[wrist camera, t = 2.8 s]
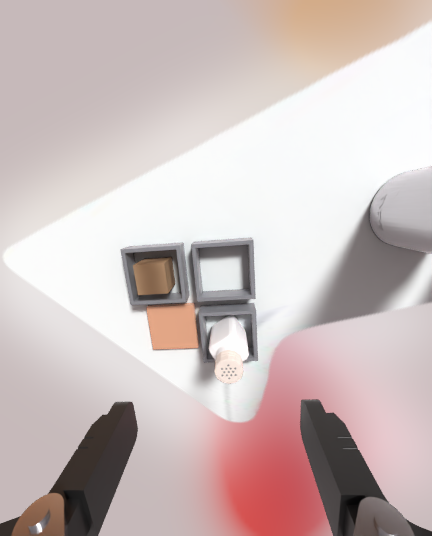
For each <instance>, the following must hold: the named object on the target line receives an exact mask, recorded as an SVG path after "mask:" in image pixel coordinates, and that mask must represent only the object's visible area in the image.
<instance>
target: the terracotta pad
mask: <svg viewBox="0 0 432 536" xmlns="http://www.w3.org/2000/svg"><path fill="white" fill-rule="evenodd" d="M146 309H147V315H148V321H149V327H150V333H151V339H152V345H153V350H155V349H182V348H198V347H199V341H198V331H197V322H196V313H195V304H194V303H183V304H164V305H148V306H147V307H146Z"/></svg>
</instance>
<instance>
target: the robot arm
mask: <svg viewBox="0 0 432 536" xmlns="http://www.w3.org/2000/svg"><path fill="white" fill-rule="evenodd" d="M370 223H371V227H372V229H373V231H374V233H375V234H376V235H377V236H378V238H379V239H381V240H382V241H384V242H385V243H387V244H390V245H393V246H398V247H403V248H407V249H412V250H416V251H420V252H425V253H429V254H432V166H431V167H426V168H421V169H417V170H412V171H408V172H404V173H401V174H399V175H397V176H395V177H393V178H391V179H390V180H389V181H387V182H386V183H385V184H384V185H383V186H382V187H381V188H380V189H379V191H378V192H377V194H376V195H375V197H374V199H373V202H372V204H371V209H370ZM300 428H301V435H302V440H303V443H304V446H305V450H306V453H307V456H308V459H309V462H310V465H311V468H312V471H313V474H314V477H315V481H316V483H317V487H318V490H319V493H320V496H321V499H322V502H323V505H324V508H325V512H326V515H327V518H328V520H329V524H330V527H331V530H332V533H333V536H432V531H429V530H426V529H424V528H421V527H419V526H417V525H415V524H413V523H411V522H409V521H408V520H407V519H405V518H404V517H403V515H402V514H401V513H400V512H399V511H398V510H397V509H396V508H395V507H393V506H392V505H391V504H389V502H388V501H387V500H386V498H385V497H384V495H383V494H382V492H381V490H380V488H379V486H378V484H377V482H376V481H375V479H374V477H373V475H372V473H371V471H370V470H369V468H368V466H367V464H366V462H365V460H364V458H363V457H362V455H361V453H360V451H359V450H358V448H357V446H356V444H355V442H354V440H353V439H352V437H351V435H350V433H349V431H348V429H347V427H346V425H345V424H344V423H343V422H342V421H341V420H340V419H339V418H338V417H337V416H336V415H335V414H334V413H326V412H325V410H324V408H323V406H322V404H321V402H320V401H319V400H301V421H300ZM137 431H138V428H137V421H136V416H135V411H134V406H133V403H132V402H115V403H114V405H113V406H112V408H111V409H110V411H109V413H108V414H107V415H102V416H101V417H100V418H99V419H98V420H97V421H96V422H95V423H94V424H92V426H91V428H90V429H89V430H88V432H87V434H86V435H85V438H84V439H83V440H82V442H81V443H80V445H79V446H78V449H77V450H76V451H75V453H74V455H73V456H72V457H71V459H70V461H69V462H68V464H67V465H66V467H65V468H64V470H63V472H62V473H61V475H60V477H59V478H58V480H57V481H56V483H55V484H54V486H53V488H52V489H51V490H50V492H49V493H48V494H47V495H44V496H43V497H41V498H39V499H38V500H36V501H35V502H34V503H32V504H31V505H30V506H29V507H28V508H27V509H26V510H25V511H24V513H23V514H22V515H21V516H20V517H18V518H15V519H12V520H9V521H6V522H4V523H1V524H0V536H98V534H99V532H100V529H101V527H102V524H103V522H104V519H105V517H106V514H107V512H108V509H109V507H110V504H111V502H112V499H113V497H114V494H115V492H116V489H117V487H118V484H119V481H120V479H121V477H122V474H123V472H124V469H125V467H126V464H127V461H128V459H129V456H130V454H131V451H132V449H133V446H134V444H135V441H136V437H137Z"/></svg>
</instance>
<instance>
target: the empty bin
mask: <svg viewBox="0 0 432 536" xmlns="http://www.w3.org/2000/svg"><path fill="white" fill-rule="evenodd" d="M247 244H248V259H249V281H250V289H240V290H222V291H204V292H203V289H202V279H201V269H200V259H199V249H198V248H204V247H219V246H233V245H247ZM191 247H192V256H193V266H194V275H195V285H196V294H197V302H201V301H220V300H240V299H255V273H254V247H253V239H252V238H240V239H226V240H212V241H198V242H193V243H192V244H191Z"/></svg>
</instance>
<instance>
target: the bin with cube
mask: <svg viewBox="0 0 432 536" xmlns="http://www.w3.org/2000/svg"><path fill="white" fill-rule="evenodd" d="M175 249H176V252H177V260H178V268H179V276H180V284H181V292H182V293H167V294H150V295H138V292H137V286H136V280H135V275H134V269H133V265H134V264H135V260H134V254H133V252H147V251H161V250H175ZM121 255H122V260H123V266H124V271H125V277H126V282H127V287H128V293H129V298H130V304H131V305H143V304H163V303H182V302H187V300H188V298H189V287H188V278H187V269H186V261H185V252H184V243H170V244H156V245H142V246H129V247H126V248H123V249H121Z"/></svg>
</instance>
